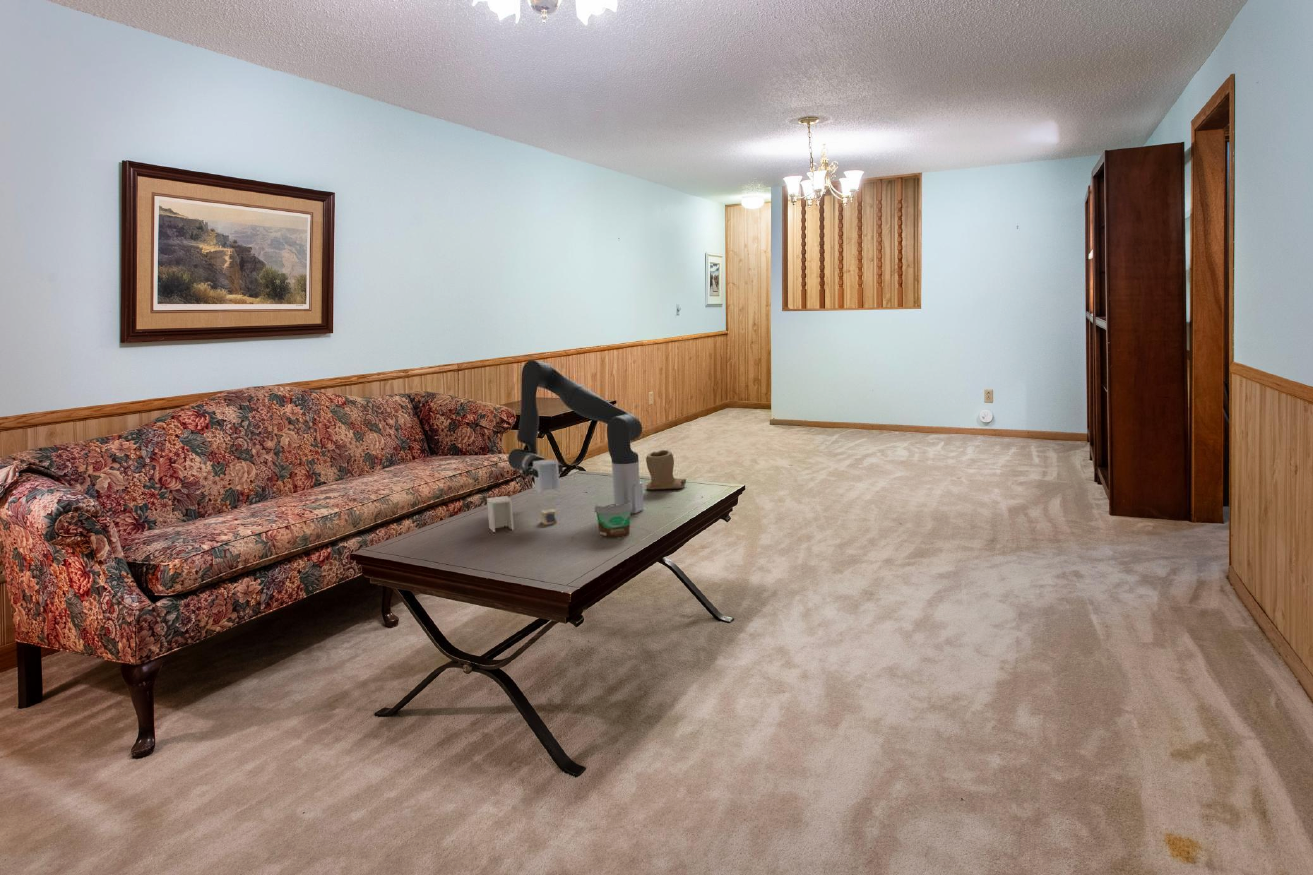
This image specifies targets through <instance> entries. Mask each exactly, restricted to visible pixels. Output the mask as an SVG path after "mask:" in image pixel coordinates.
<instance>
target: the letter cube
mask: <svg viewBox="0 0 1313 875" xmlns="http://www.w3.org/2000/svg"><path fill="white" fill-rule="evenodd" d="M540 516H541V522H542V524H544V525H545V524H546V525H552V524H557V520H558V519H557V511H556V510H555V509H554V508H550V509H545V510H544V509H542V510H540Z"/></svg>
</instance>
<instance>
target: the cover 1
mask: <svg viewBox="0 0 1313 875" xmlns="http://www.w3.org/2000/svg"><path fill="white" fill-rule="evenodd" d="M512 501H513V500H512V498H510V497H509V496H508V495H504V496H498V497H497V496H495V497H488V498H486V502H487V515H488V527H489V528H490V529H491V530H492V531H493V532H495V533H496V529H499V528H504V526H506V527H508V528H509V529H510V530H511V529H512V530H511V531H514V530H515V528H514V516H513V515H514V514H513V502H512ZM490 529H489V530H490ZM513 529H514V530H513ZM491 530H490V531H491ZM492 531H491V532H492ZM493 532H492V533H493Z"/></svg>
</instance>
